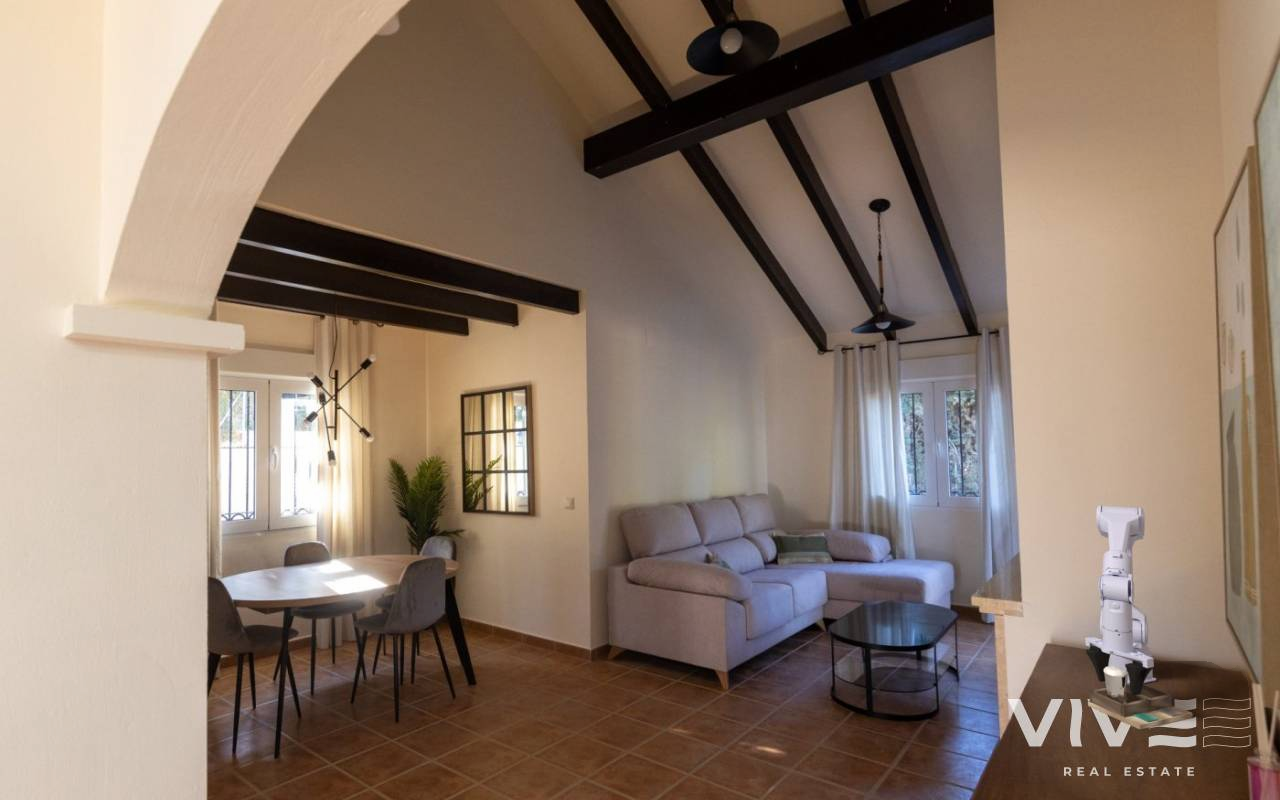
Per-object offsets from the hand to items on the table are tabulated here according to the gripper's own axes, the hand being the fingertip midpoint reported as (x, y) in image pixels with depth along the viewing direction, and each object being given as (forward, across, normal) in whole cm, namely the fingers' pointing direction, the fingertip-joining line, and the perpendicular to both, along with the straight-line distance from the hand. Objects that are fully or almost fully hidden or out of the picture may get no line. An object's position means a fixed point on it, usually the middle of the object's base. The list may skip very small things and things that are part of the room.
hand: (1119, 687), depth 152 cm
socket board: (+5, +2, +4) cm, 7 cm away
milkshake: (+5, 0, -1) cm, 5 cm away
